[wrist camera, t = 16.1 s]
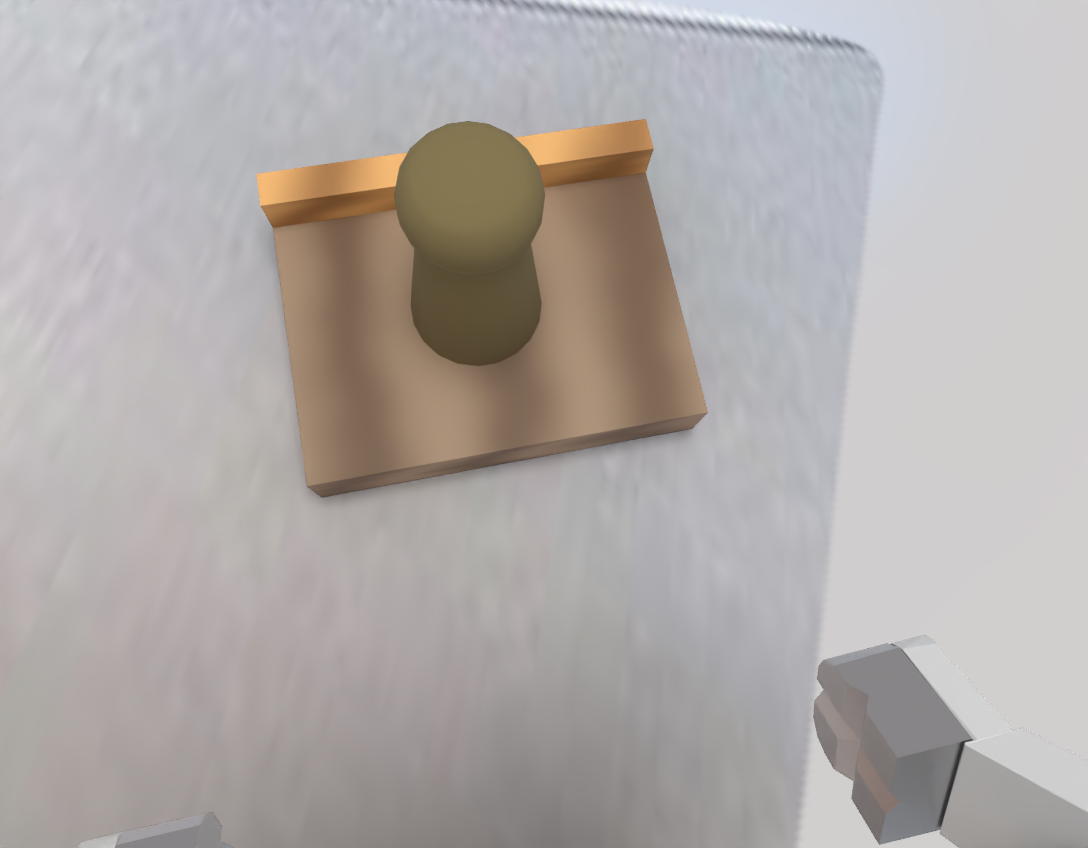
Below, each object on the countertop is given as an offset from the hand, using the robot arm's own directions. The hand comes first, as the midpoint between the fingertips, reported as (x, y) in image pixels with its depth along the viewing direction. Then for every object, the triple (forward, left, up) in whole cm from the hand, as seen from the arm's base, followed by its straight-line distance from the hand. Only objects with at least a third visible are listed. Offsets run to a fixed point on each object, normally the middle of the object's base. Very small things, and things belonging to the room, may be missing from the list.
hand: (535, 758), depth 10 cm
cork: (+2, +16, -23) cm, 28 cm away
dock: (+2, +16, -26) cm, 30 cm away
